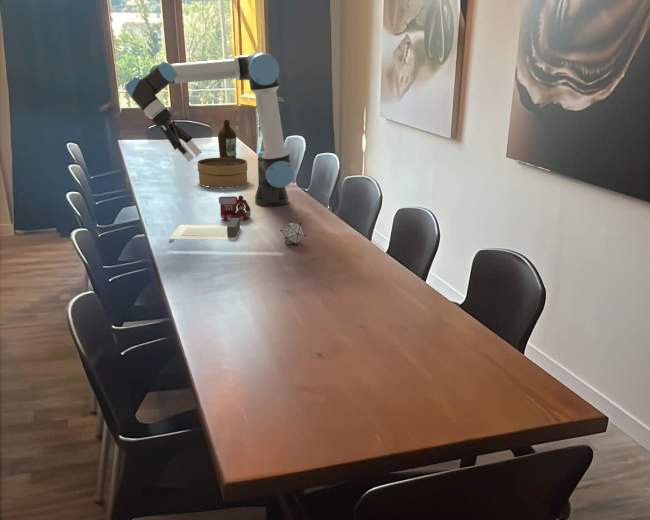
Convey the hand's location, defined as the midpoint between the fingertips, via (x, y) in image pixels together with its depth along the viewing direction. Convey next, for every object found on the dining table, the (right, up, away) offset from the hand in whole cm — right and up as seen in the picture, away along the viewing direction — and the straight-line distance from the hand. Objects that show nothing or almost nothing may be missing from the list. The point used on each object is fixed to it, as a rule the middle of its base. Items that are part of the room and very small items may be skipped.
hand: (195, 157), depth 245 cm
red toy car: (+15, -25, +7) cm, 30 cm away
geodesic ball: (+39, -35, -20) cm, 56 cm away
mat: (+7, -31, -11) cm, 34 cm away
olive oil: (-6, +17, +123) cm, 124 cm away
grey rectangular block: (+17, -30, -11) cm, 36 cm away
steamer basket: (-1, -2, +72) cm, 72 cm away
